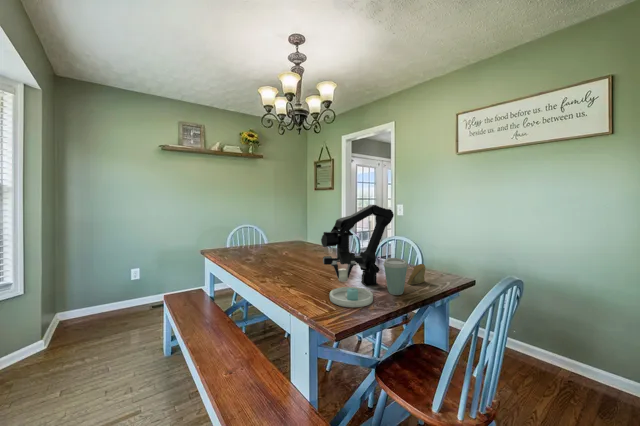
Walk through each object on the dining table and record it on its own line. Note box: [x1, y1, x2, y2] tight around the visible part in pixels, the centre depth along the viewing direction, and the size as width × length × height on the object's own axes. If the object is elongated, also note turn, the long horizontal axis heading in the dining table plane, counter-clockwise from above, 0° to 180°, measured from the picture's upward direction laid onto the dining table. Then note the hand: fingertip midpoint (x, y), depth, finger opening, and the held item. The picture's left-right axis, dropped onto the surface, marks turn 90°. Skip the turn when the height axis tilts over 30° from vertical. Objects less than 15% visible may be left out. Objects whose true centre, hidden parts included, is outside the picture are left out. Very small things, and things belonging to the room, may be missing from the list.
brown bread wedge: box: [407, 263, 426, 286], centre depth 144 cm, size 11×9×10 cm
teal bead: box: [347, 288, 358, 301], centre depth 116 cm, size 4×4×5 cm
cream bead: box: [337, 268, 349, 283], centre depth 136 cm, size 4×4×5 cm
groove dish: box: [329, 286, 374, 308], centre depth 121 cm, size 18×18×2 cm
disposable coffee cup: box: [382, 257, 408, 296], centre depth 129 cm, size 11×11×15 cm
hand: (343, 277), depth 136 cm, fingers closed on cream bead, 4 cm apart
